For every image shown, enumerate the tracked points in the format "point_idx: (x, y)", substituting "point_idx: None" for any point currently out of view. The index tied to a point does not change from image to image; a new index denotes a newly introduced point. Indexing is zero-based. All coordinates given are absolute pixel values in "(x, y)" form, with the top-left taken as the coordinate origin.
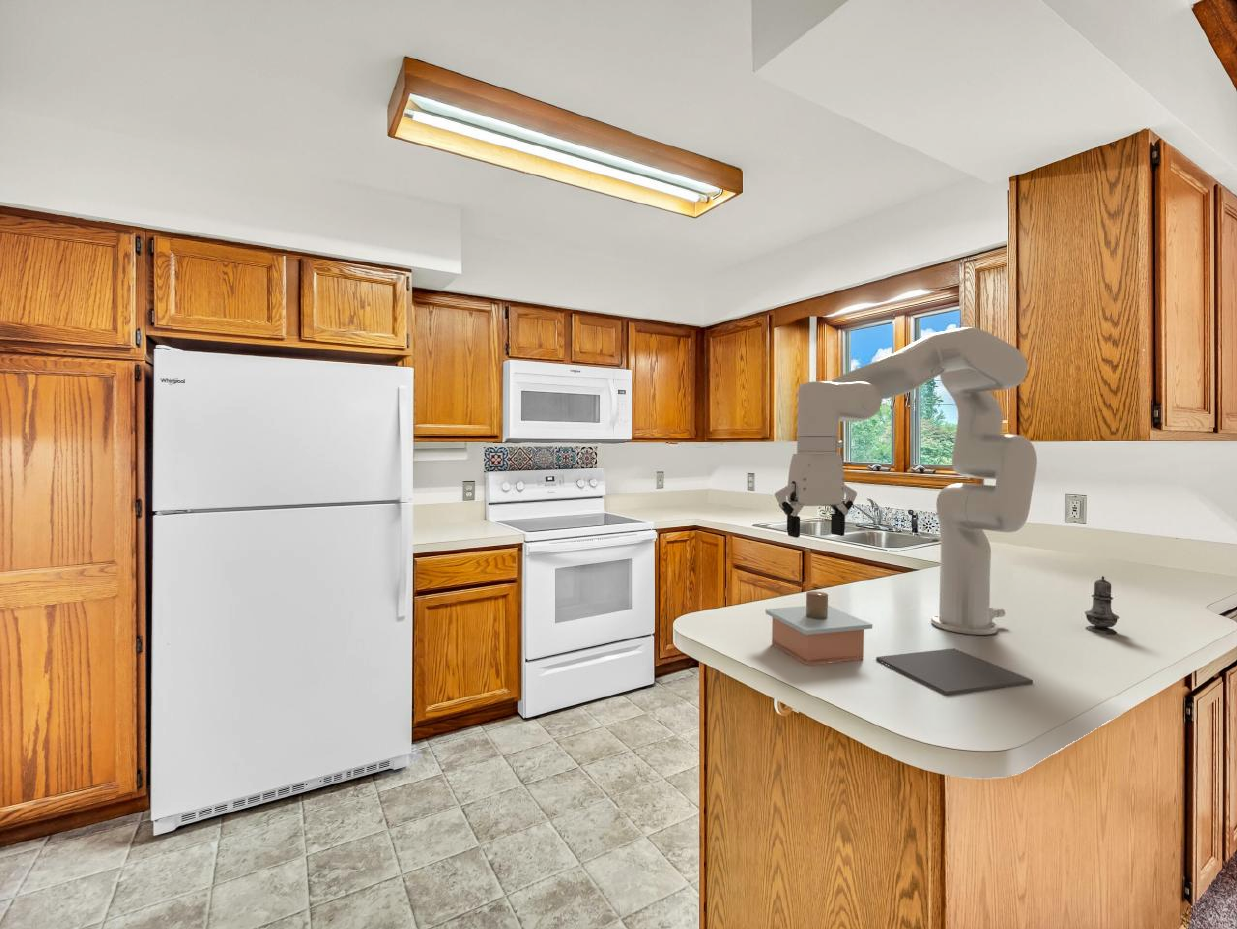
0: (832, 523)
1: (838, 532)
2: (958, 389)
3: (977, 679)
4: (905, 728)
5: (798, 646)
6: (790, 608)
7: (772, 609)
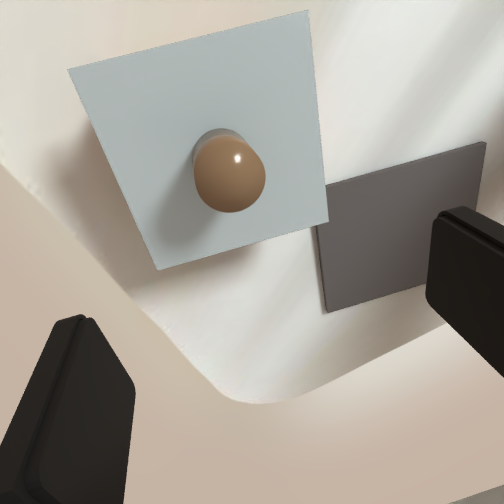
0: (494, 264)
1: (438, 291)
2: None
3: (398, 275)
4: (226, 381)
5: None
6: (164, 61)
7: (93, 72)
